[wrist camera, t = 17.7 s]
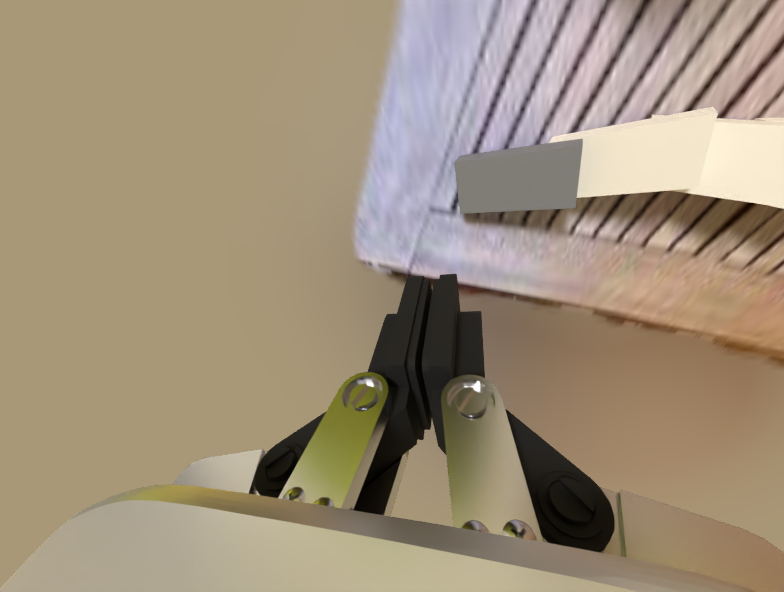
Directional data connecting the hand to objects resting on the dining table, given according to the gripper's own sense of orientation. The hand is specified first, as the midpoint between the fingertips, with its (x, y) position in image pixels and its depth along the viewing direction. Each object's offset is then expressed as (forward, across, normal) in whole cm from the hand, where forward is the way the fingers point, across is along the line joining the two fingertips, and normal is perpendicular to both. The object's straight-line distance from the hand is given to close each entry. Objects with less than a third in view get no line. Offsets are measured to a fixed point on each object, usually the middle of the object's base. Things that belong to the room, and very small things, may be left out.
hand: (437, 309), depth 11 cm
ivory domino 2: (+23, -15, +2) cm, 27 cm away
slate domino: (+22, 0, +3) cm, 23 cm away
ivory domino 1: (+23, -8, +2) cm, 24 cm away
